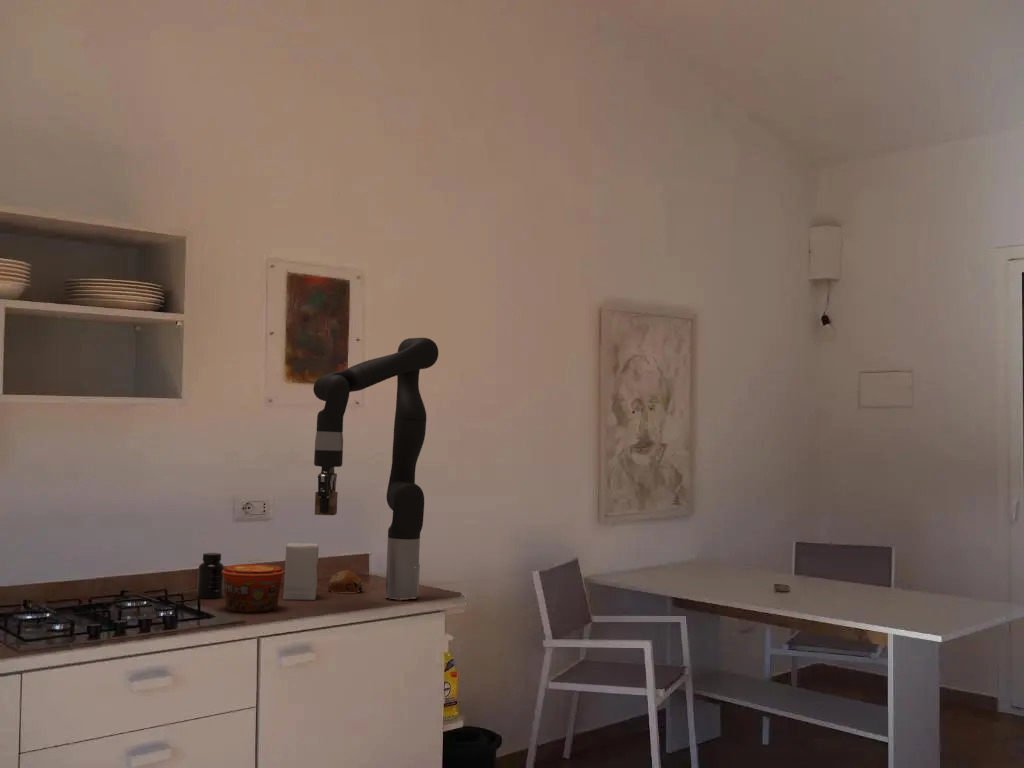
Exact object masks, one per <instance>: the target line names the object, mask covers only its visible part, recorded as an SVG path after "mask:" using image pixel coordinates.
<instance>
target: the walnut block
mask: <svg viewBox="0 0 1024 768" xmlns="http://www.w3.org/2000/svg"><path fill="white" fill-rule="evenodd" d="M323 492H324V491H323ZM338 493H339V492H338V491H335V492H330V495H329V496H330V497H329V509H328V513H321V512H320V499H321V498H319V496H318V491H315V494H314V516H336V515H337V514H338V513H337V512H338Z"/></svg>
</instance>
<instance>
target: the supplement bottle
mask: <svg viewBox="0 0 1024 768" xmlns="http://www.w3.org/2000/svg"><path fill="white" fill-rule="evenodd" d="M202 561H203V562H202V563H200V564H199V566H198V573H197V574H198V576H197V590H196V591H197V593H196V594H197V598H199V599H201V600H216V599H221V598H222V597H223V595H224V574H223V575H222V571H223V570H224V569H225V566H224V564H222V563H221V561H222V554H221V553H219V552H206V553H203V554H202Z"/></svg>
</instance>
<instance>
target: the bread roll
mask: <svg viewBox="0 0 1024 768" xmlns="http://www.w3.org/2000/svg"><path fill="white" fill-rule="evenodd" d="M364 586H365V585H364V583H363V580H362V579H361V578H360V577H359V576H358V575H357V574H356V573H354V572H352V571H350V570H348V569H347V570H342V571H339V572H336V573H334V574H333V575H332V576H331V577H330V579H329V580H328V583H327V589H328V592H329V591H333V592H358V591H361V592H362V591H363V587H364Z"/></svg>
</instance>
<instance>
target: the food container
mask: <svg viewBox="0 0 1024 768" xmlns="http://www.w3.org/2000/svg"><path fill="white" fill-rule="evenodd" d="M223 574H224V579H223V586H224V597H225V609H226V610H227V611H229V612H233V613H239V614H259V613H268V612H272V611H275V610H277V608H278V603H279V602H278V601H279V596H280V591H281V586H282V585H281V584H282V578H283V576H284V575H285V569H283V568H282V567H281V566H278V565H270V564H247V563H246V564H235V565H227V566H224V570H223V571H222V575H223Z"/></svg>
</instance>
